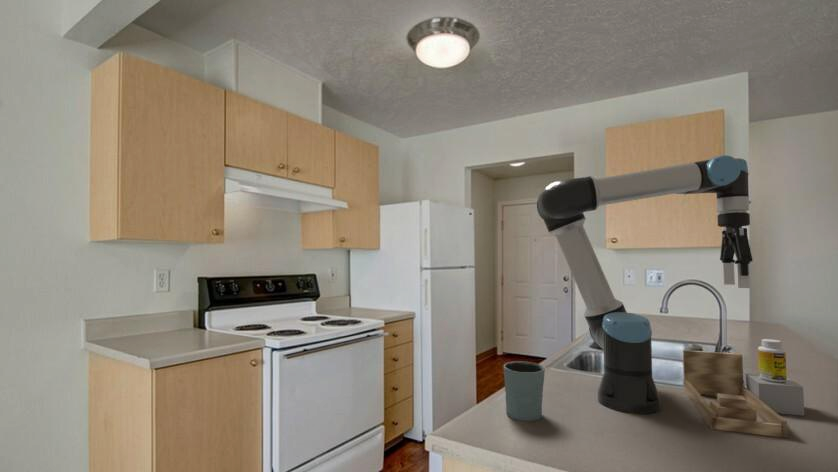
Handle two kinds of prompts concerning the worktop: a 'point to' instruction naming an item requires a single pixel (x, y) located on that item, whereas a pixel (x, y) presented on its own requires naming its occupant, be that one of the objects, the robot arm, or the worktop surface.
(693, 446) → the worktop surface
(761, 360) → the supplement bottle
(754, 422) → the light wood open box
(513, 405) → the grey-green cup
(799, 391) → the stone plinth
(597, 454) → the worktop surface
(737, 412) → the offcut slab top
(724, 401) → the offcut block
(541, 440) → the worktop surface
